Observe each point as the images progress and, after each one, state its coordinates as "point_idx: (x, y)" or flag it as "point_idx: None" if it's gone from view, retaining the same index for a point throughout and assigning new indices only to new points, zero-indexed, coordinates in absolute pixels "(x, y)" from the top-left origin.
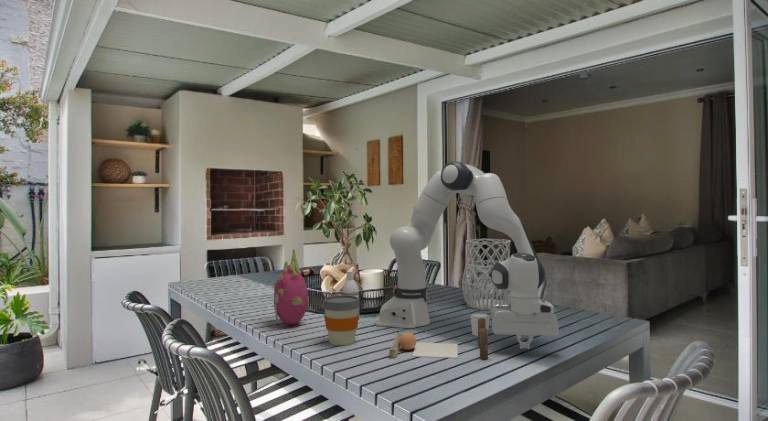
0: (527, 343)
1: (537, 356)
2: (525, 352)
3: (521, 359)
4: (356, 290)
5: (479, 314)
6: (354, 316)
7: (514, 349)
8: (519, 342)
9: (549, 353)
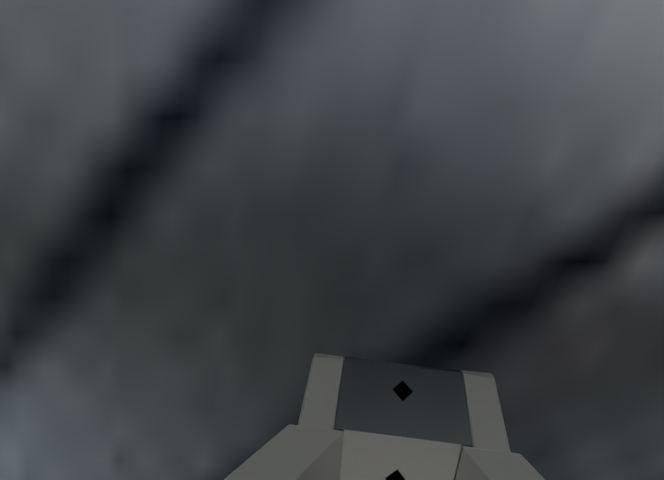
0: (342, 440)
1: (218, 199)
2: None
3: (561, 19)
4: None
5: None
6: None
7: None
8: (534, 469)
9: (39, 321)
